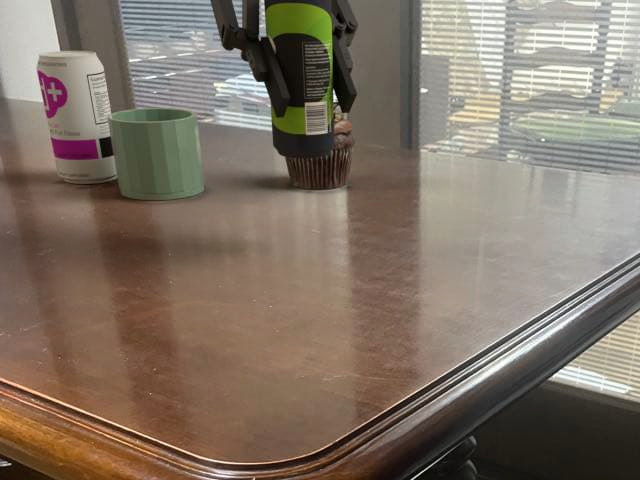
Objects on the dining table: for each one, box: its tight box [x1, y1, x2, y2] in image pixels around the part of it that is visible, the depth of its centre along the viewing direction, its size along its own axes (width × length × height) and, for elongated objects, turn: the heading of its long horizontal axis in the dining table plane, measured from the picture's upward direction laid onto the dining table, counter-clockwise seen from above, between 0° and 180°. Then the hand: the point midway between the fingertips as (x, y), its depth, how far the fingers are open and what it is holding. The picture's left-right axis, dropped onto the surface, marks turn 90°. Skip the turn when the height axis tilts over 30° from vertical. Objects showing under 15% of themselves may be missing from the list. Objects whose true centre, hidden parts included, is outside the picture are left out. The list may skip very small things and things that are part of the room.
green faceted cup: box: [107, 107, 206, 201], centre depth 112 cm, size 11×11×9 cm
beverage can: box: [263, 0, 335, 159], centre depth 85 cm, size 6×6×15 cm
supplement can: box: [36, 50, 118, 185], centre depth 116 cm, size 8×8×15 cm
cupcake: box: [284, 101, 356, 190], centre depth 116 cm, size 10×10×10 cm
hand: (316, 105), depth 84 cm, fingers closed on beverage can, 6 cm apart
